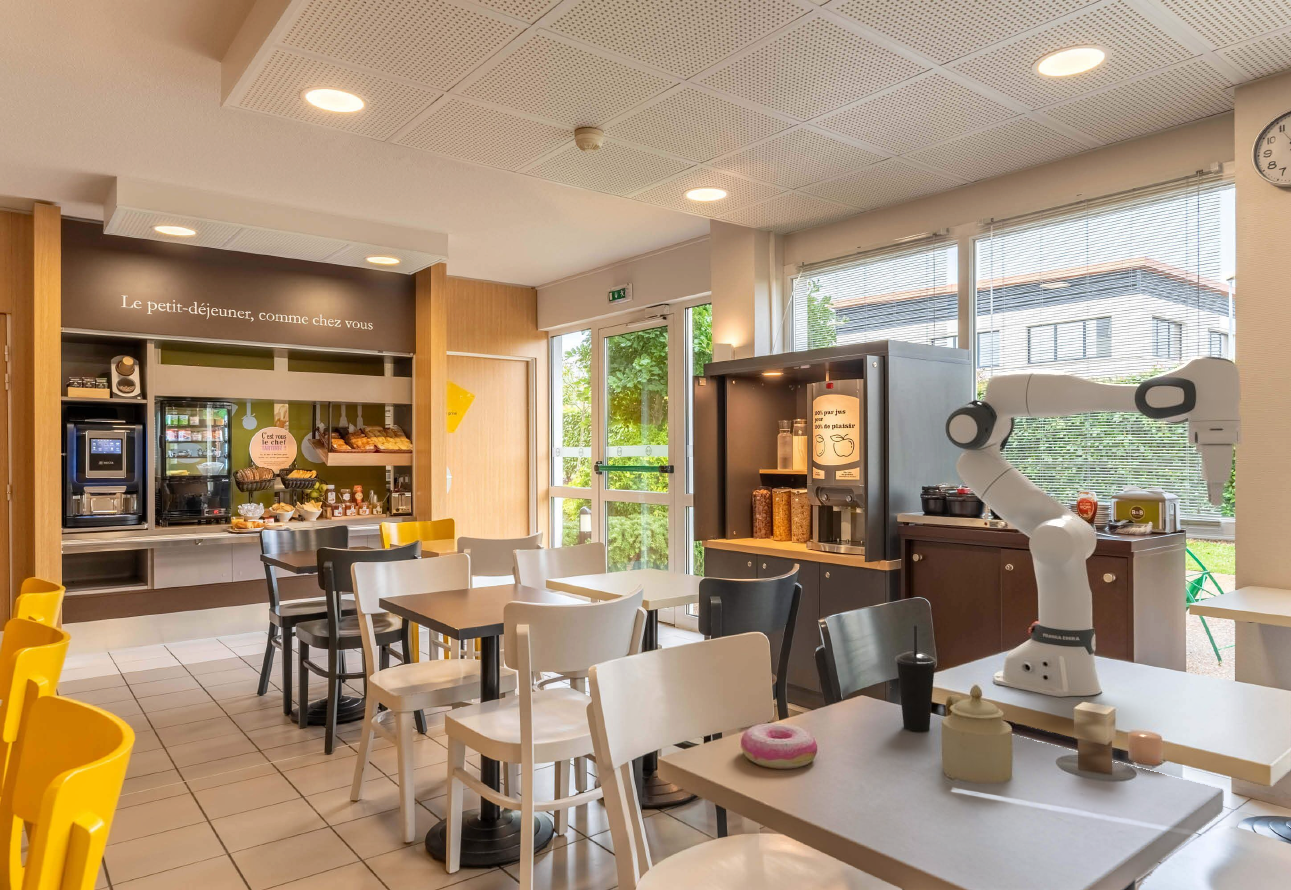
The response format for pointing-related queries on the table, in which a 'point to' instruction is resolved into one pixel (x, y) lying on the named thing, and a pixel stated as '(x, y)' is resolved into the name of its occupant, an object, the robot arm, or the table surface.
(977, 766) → the sugar bowl
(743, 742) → the donut
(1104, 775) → the slate coaster
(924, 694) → the drinking cup
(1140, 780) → the table surface
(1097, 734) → the beech cube
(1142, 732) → the terracotta cylinder
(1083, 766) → the walnut cube
